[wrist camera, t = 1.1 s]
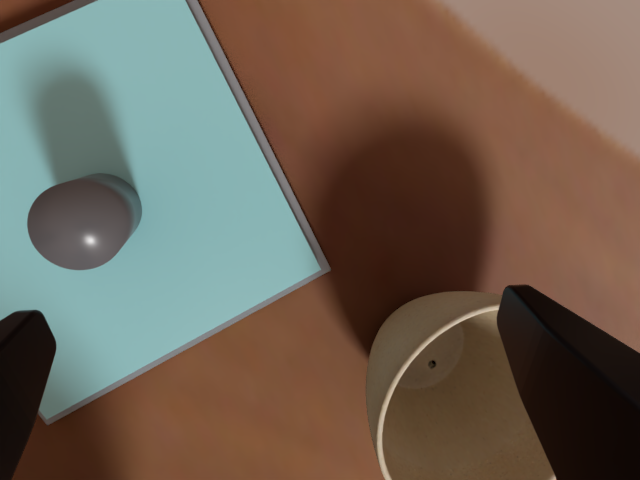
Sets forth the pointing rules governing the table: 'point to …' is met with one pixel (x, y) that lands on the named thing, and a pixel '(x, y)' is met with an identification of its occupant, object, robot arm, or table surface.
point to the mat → (259, 136)
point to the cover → (131, 193)
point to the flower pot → (448, 395)
